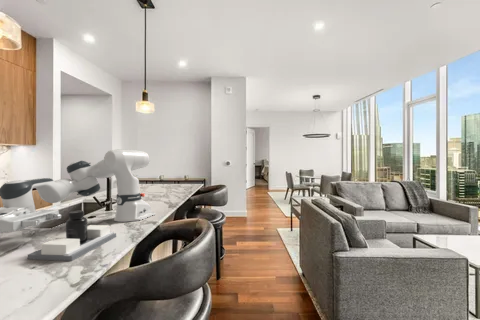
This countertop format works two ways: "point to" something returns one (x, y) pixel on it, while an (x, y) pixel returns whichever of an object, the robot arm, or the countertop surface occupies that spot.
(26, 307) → the countertop surface
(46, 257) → the rail panel
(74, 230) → the supplement bottle
